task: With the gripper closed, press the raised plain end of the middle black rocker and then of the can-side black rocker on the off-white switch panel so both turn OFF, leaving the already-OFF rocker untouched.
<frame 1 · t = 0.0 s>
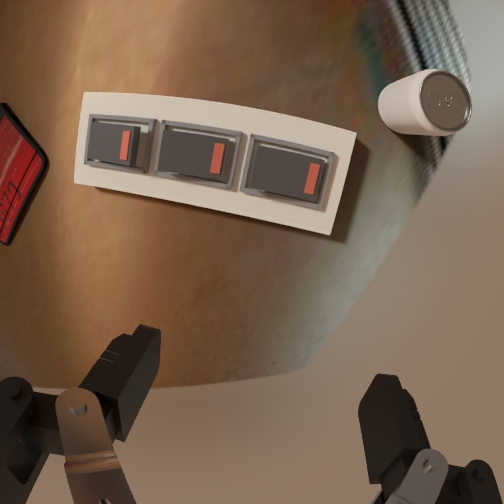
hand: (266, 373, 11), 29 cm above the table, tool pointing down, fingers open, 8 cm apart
rocker 1: (111, 142, 32), point 5 cm above the table, hinge at 12.0°
rocker 3: (286, 172, 32), point 5 cm above the table, hinge at -12.0°
can: (400, 108, 32), on the table
binder: (5, 177, 41), on the table
rocker 2: (192, 154, 32), point 5 cm above the table, hinge at -12.0°
switch panel: (203, 151, 37), on the table
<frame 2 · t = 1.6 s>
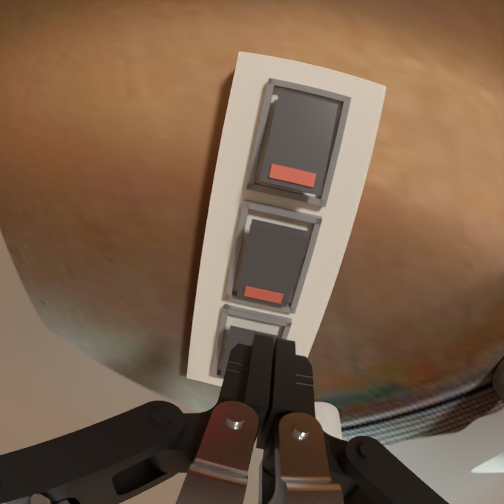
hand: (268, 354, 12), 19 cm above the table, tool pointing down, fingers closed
rocker 1: (299, 142, 22), point 5 cm above the table, hinge at 12.0°
rocker 3: (247, 359, 29), point 5 cm above the table, hinge at -12.0°
can: (314, 413, 38), on the table
rocker 2: (270, 266, 26), point 5 cm above the table, hinge at -12.0°
switch panel: (272, 245, 30), on the table
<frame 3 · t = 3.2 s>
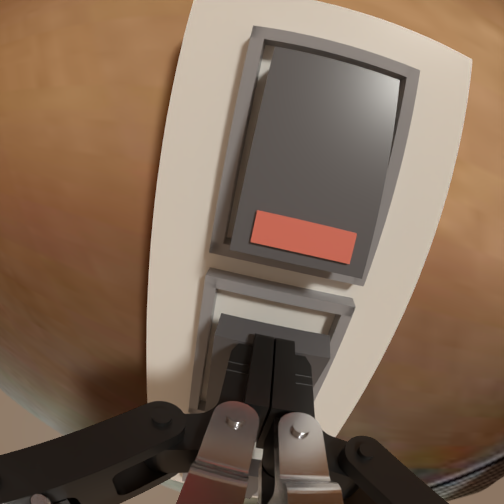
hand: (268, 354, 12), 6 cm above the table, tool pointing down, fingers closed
rocker 1: (319, 158, 10), point 5 cm above the table, hinge at 12.0°
rocker 3: (227, 478, 17), point 5 cm above the table, hinge at -12.0°
rocker 2: (257, 385, 14), point 5 cm above the table, hinge at -11.8°, touching gripper
switch panel: (265, 328, 18), on the table
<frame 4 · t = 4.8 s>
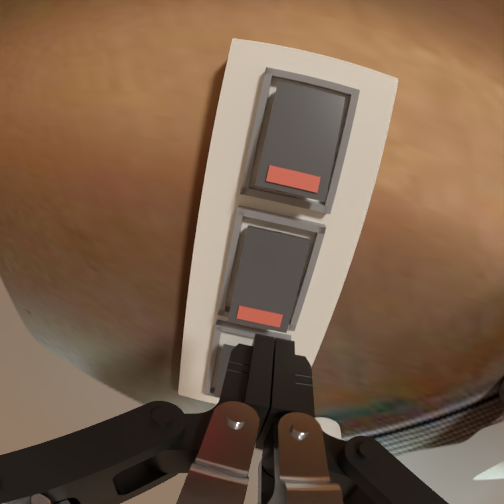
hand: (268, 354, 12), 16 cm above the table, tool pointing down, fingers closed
rocker 1: (301, 140, 19), point 5 cm above the table, hinge at 12.0°
rocker 3: (242, 378, 27), point 5 cm above the table, hinge at -12.0°
can: (314, 428, 36), on the table
rocker 2: (267, 280, 23), point 5 cm above the table, hinge at 11.3°
switch panel: (270, 255, 27), on the table
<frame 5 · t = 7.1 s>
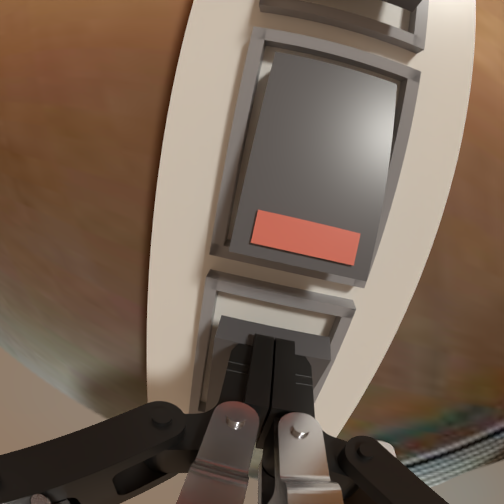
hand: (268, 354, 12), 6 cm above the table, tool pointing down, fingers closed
rocker 3: (258, 387, 14), point 5 cm above the table, hinge at -11.7°, touching gripper
rocker 2: (320, 160, 10), point 5 cm above the table, hinge at 18.4°
switch panel: (309, 153, 14), on the table
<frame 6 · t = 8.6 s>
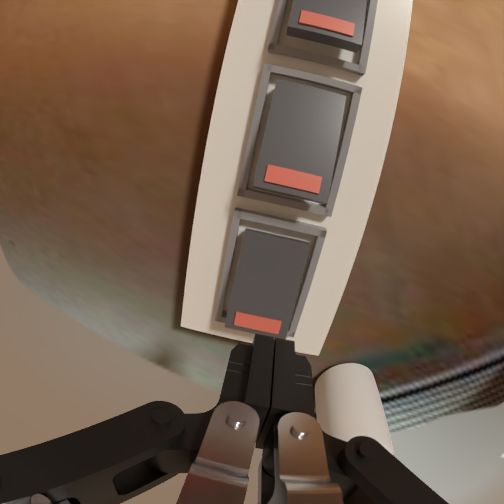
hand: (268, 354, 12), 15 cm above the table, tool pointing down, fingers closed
rocker 3: (266, 285, 22), point 5 cm above the table, hinge at 11.4°
can: (343, 381, 31), on the table
rocker 2: (300, 139, 18), point 5 cm above the table, hinge at 16.8°
switch panel: (296, 138, 23), on the table
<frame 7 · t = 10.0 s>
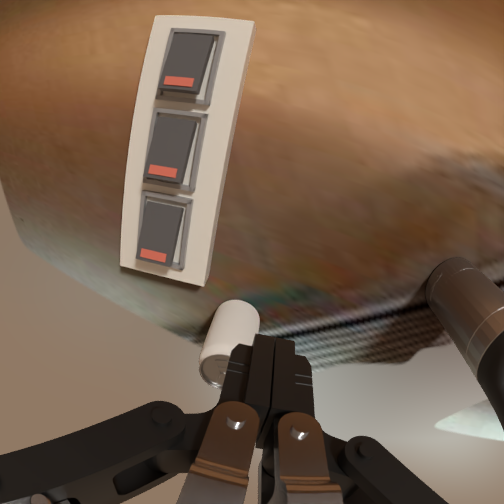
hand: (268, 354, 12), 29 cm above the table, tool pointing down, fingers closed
rocker 1: (186, 62, 29), point 5 cm above the table, hinge at 12.0°
rocker 3: (159, 233, 37), point 5 cm above the table, hinge at 19.8°, touching switch panel
can: (237, 316, 46), on the table
rocker 2: (169, 149, 33), point 5 cm above the table, hinge at 16.1°
switch panel: (182, 147, 37), on the table
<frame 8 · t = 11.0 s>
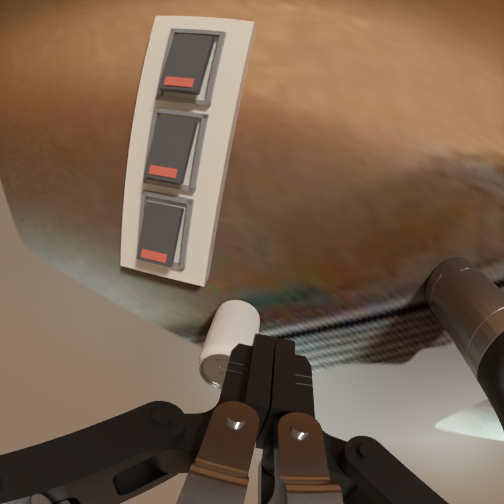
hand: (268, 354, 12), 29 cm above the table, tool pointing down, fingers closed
rocker 1: (186, 62, 29), point 5 cm above the table, hinge at 12.0°
rocker 3: (159, 233, 37), point 5 cm above the table, hinge at 17.7°
can: (237, 317, 46), on the table
rocker 2: (170, 149, 33), point 5 cm above the table, hinge at 15.8°
switch panel: (183, 147, 37), on the table
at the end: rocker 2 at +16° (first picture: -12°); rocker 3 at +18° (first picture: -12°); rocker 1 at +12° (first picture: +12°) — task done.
